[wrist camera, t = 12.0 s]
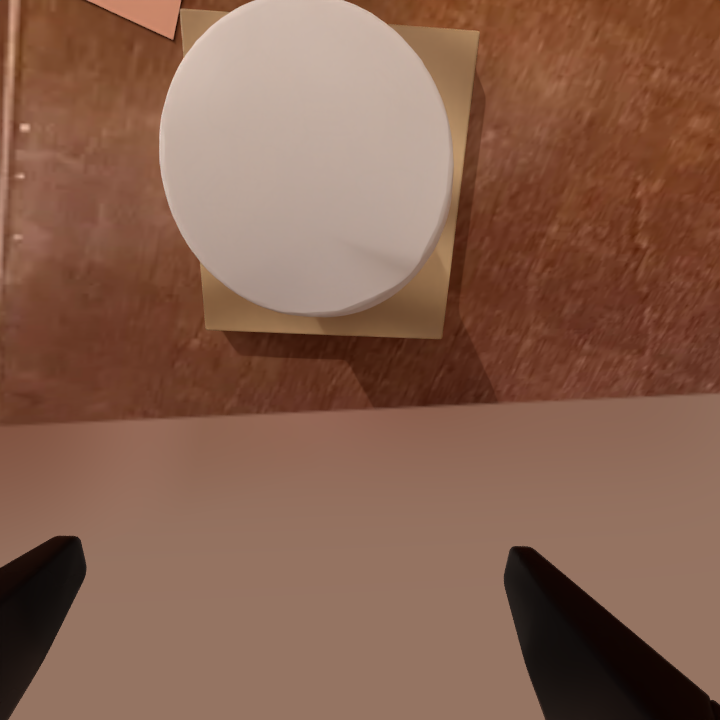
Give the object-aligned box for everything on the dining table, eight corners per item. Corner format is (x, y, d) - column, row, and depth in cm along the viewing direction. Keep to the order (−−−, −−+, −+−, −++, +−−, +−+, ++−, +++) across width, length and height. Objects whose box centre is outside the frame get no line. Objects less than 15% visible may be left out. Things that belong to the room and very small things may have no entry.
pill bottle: (224, 196, 17) (16, 163, 6) (330, 75, 15) (295, -229, 5) (331, 304, 18) (311, 422, 8) (435, 202, 17) (580, 181, 6)
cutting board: (435, 331, 20) (442, 340, 19) (215, 322, 20) (205, 330, 18) (469, 46, 16) (480, 30, 15) (193, 25, 16) (178, 7, 14)
